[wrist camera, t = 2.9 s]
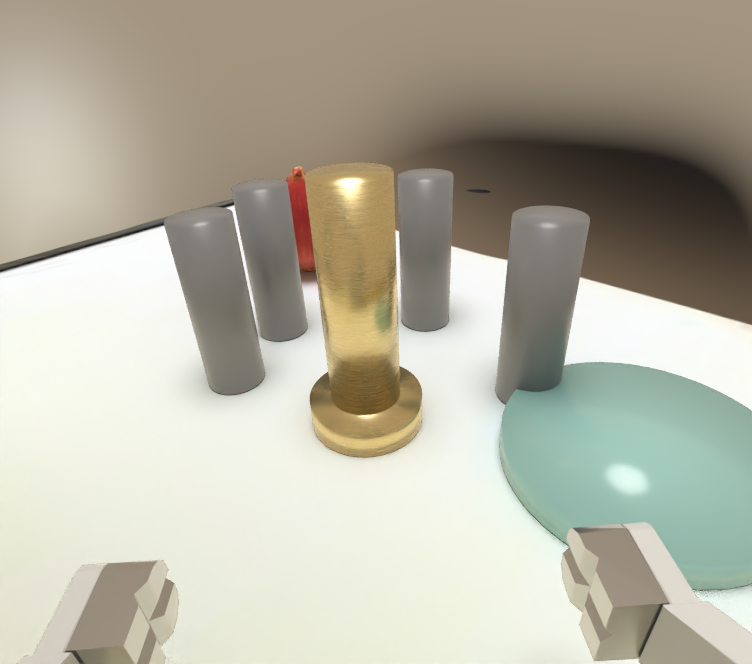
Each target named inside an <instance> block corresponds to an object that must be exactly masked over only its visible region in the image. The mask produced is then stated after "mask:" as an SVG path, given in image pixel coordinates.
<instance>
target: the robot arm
mask: <svg viewBox="0 0 752 664" xmlns="http://www.w3.org/2000/svg"><path fill="white" fill-rule="evenodd" d="M566 540H567V542H568V545H569V547H570V548H569V549H567V550H566V551H565V552H564V553H563V556H562V561H561V569H562V578H563V582H564V586H565V589H566V592H567V595H568V597H569V600H570V602H571V603H572V604H573V605H574V606H575V607H577V608H578V609H579V610H580V611H581V612H582V617H581V621H580V624H579V625H580V628H581V630H582V633H583V635H584V638H585V640H586V643H587V645H588V648H589V650H590V653H591V655H592V658H593V660H594V661H606V660H626V659H639V661H638V662H639V663H640V664H752V633H751V632H749V631H748V630H747V629H745V628H744V627H742V626H741V625H740V624H738V623H737V622H736V621H734V620H733V619H731V618H730V617H729V616H727V615H726V614H725V613H723V612H722V611H720V610H719V609H718V608H716V607H715V606H714V605H712V604H711V603H709V602H700V601H699V599H698V598H697V596H696V595H695V593H694V591H693V590H692V588H691V587H690V585H689V583H688V582H687V580H686V579H685V577H684V576H683V574H682V572H681V571H680V569H679V568H678V566H677V565H676V563H675V561H674V560H673V558H672V557H671V555H670V553H669V552H668V550H667V549H666V547H665V546H664V544H663V542H662V541H661V539H660V538H659V536H658V535H657V533H656V531H655V530H654V528H653V527H652V526H651V525H650V524H648V523H646V522H638V523H628V524H608V525H598V526H587V527H576V528H571V529H570V530H569V531H568V534H567V538H566ZM167 572H168V568H167V566H166V564H165V562H164V560H153V561H137V562H121V563H102V564H89V565H82V566H81V567H80V569H79V570H78V571H77V572H76V573H75V574H74V576H73V578H72V580H71V581H70V583H69V585H68V587H67V589H66V591H65V593H64V595H63V597H62V599H61V601H60V603H59V605H58V607H57V609H56V611H55V613H54V615H53V617H52V619H51V621H50V623H49V625H48V626H47V628H46V630H45V632H44V634H43V636H42V638H41V640H40V642H39V644H38V646H37V648H36V650H35V652H34V654H33V655H26V656H24V657H23V658H22V659H21V660H20V661H19V662H17V663H16V664H164V663H165V659H166V657H165V654H164V652H163V649H162V645H163V644H164V643H165V642H166V641H167V639H168V638H169V637H170V636H171V635H172V634H173V632H174V628H175V624H176V621H177V616H178V606H179V598H178V591H177V588H176V586H175V584H174V583H173V582H171V581H170V580H168V579H166V576H167Z"/></svg>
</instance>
